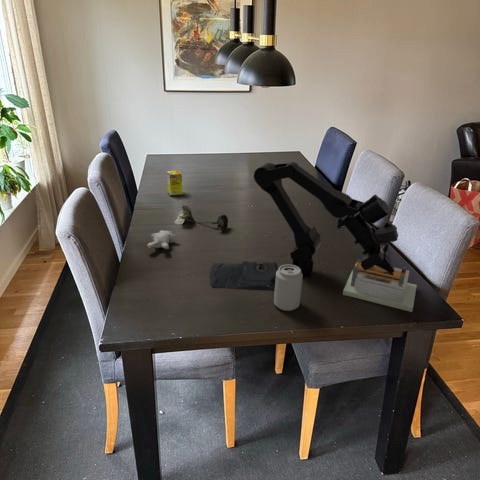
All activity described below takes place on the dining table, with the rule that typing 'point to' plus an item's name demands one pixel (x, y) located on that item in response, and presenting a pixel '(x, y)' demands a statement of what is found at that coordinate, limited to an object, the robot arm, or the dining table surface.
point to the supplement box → (174, 183)
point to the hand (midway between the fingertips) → (393, 271)
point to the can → (288, 287)
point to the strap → (380, 271)
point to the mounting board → (404, 305)
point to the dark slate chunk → (244, 275)
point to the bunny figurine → (162, 239)
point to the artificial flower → (187, 215)
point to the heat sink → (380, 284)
